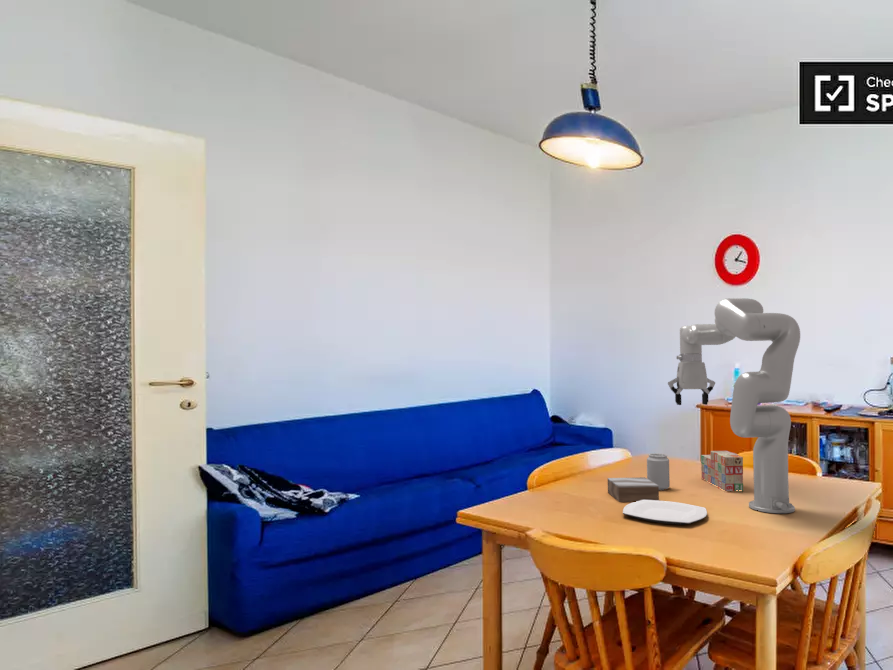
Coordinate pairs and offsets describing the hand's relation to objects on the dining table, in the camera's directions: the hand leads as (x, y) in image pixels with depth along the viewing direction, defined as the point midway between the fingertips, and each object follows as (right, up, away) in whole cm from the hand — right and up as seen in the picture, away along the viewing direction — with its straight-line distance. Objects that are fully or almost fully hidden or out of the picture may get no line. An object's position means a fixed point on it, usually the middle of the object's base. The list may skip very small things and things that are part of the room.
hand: (691, 404), depth 234 cm
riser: (-29, -28, -24) cm, 47 cm away
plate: (-27, -28, -47) cm, 61 cm away
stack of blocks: (+7, -29, -8) cm, 31 cm away
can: (-17, -29, -12) cm, 35 cm away
